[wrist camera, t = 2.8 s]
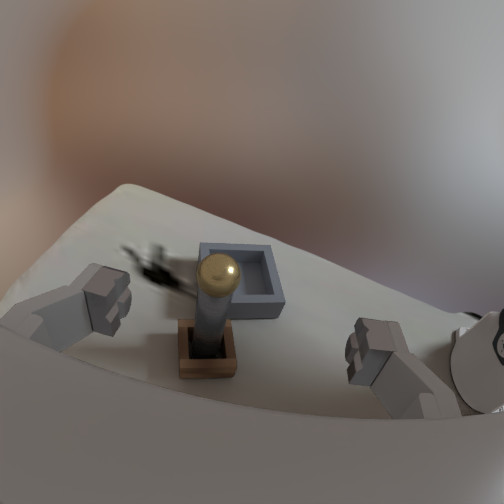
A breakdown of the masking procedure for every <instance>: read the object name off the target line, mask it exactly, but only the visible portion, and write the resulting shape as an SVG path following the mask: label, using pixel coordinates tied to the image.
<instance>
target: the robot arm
mask: <svg viewBox="0 0 504 504" xmlns="http://www.w3.org/2000/svg"><path fill="white" fill-rule="evenodd" d="M129 284H130V274H129V273H128V272H125V271H121V270H118V269H114V268H110V267H106V266H102V265H99V264H95V263H92V264H89V266H88V267H87V268H86V269H85V270H84V271H83V272H82V273H81V274H80V275H79V276H78V277H77V278H76V279H75V280H74V281H73V282H72V283H71V285H70V286H66V285H65V286H63V287H60V288H57V289H54V290H52V291H49V292H46V293H44V294H41V295H38V296H36V297H33V298H30V299H28V300H25V301H22V302H20V303H17V304H15V305H14V306H13V307H12V308H11V309H10V310H9V311H8V312H7V313H6V314H5V315H4V316H3V317H2V319H1V320H0V504H504V309H503V310H502V311H501V312H500V313H498V312H489V313H488V314H486V315H485V316H484V317H483V318H482V319H481V320H479V321H478V322H477V323H476V324H475V325H474V326H472V327H471V328H470V327H460V328H459V329H458V330H456V343H455V346H454V348H453V351H452V354H451V372H452V377H453V380H454V383H455V385H456V388H457V390H458V392H459V393H460V395H461V397H462V398H463V399H464V401H465V402H466V403H467V404H468V405H469V406H470V407H472V408H473V409H475V410H477V411H479V412H482V413H484V414H479V415H470V416H462V415H461V412H460V408H459V405H458V403H457V400H456V397H455V394H454V392H453V391H452V390H451V389H450V388H449V387H448V386H447V385H446V384H445V383H444V382H443V381H442V380H441V379H440V378H439V377H437V376H436V375H435V374H434V373H433V372H432V371H431V370H430V369H429V368H428V367H427V366H426V365H425V364H424V363H423V362H422V361H420V360H419V359H418V358H417V357H416V356H415V355H414V354H412V353H409V350H408V347H407V344H406V341H405V338H404V336H403V333H402V330H401V327H400V325H399V323H398V322H393V321H381V320H374V319H367V318H360V317H359V318H358V320H357V321H356V323H355V325H354V327H355V332H354V333H352V334H351V335H350V336H349V338H348V340H347V344H346V348H345V358H346V361H347V362H348V363H349V364H350V365H349V367H348V369H347V374H348V381H349V384H353V385H362V386H371V387H370V388H371V389H372V391H373V392H374V393H375V395H376V396H377V398H378V399H379V400H380V402H381V403H382V405H383V406H384V407H385V409H386V410H387V412H388V413H389V414H390V416H391V417H392V419H362V418H343V417H329V416H317V415H307V414H298V413H290V412H282V411H275V410H268V409H262V408H256V407H250V406H244V405H238V404H233V403H228V402H223V401H218V400H213V399H209V398H204V397H200V396H195V395H191V394H187V393H183V392H179V391H175V390H171V389H167V388H164V387H160V386H156V385H153V384H149V383H146V382H143V381H139V380H136V379H133V378H130V377H126V376H123V375H120V374H117V373H114V372H111V371H108V370H106V369H103V368H100V367H97V366H94V365H92V364H89V363H86V362H84V361H81V360H78V359H76V358H73V357H71V356H68V355H66V354H63V353H61V351H63V350H64V349H66V348H68V347H69V346H71V345H73V344H74V343H76V342H77V341H79V340H81V339H82V338H84V337H86V336H87V335H89V334H91V333H92V332H93V331H94V332H98V333H101V334H104V335H108V336H111V337H113V336H114V335H115V333H116V331H117V330H118V328H119V327H120V325H121V324H120V319H122V318H124V317H126V315H127V314H128V312H129V309H130V306H131V300H132V295H131V291H130V290H129V288H128V287H127V286H128V285H129Z"/></svg>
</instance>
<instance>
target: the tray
mask: <svg viewBox="0 0 504 504" xmlns="http://www.w3.org/2000/svg"><path fill="white" fill-rule="evenodd" d="M213 253H225V254H227V255H229V256H231V257H232V258H234V259H235V260H236V262H237V263H238V265H239V267H240V270H241V281H240V284H239V286H238V288H237V289H236V290H235V291H234V293H233V297H232V301H231V305H230V309H229V313H228V317H227V319H252V318H278V317H279V315H280V313H281V311H282V309H283V307H284V305H285V303H286V302H285V298H284V294H283V290H282V287H281V283H280V279H279V275H278V272H277V268H276V264H275V261H274V257H273V253H272V250H271V246H270V245H251V244H225V243H200V248H199V256H198V265H199V263H200V262H201V261H202V259H203V258H205V257H206V256H208V255H210V254H213Z"/></svg>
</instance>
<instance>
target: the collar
mask: <svg viewBox="0 0 504 504" xmlns="http://www.w3.org/2000/svg"><path fill="white" fill-rule="evenodd" d="M194 323H195V320H194V319H178V349H179V372H180V378H225V377H233V376H234V374H235V371H236V369H237V361H236V354H235V347H234V340H233V333H232V326H231V319H227V320H226V324H225V328H224V332H223V336H222V340H221V344H220V346H221V354H222V359H189V350H188V340H193V333H194Z"/></svg>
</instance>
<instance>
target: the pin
mask: <svg viewBox="0 0 504 504" xmlns="http://www.w3.org/2000/svg"><path fill="white" fill-rule="evenodd" d="M196 279H197V283H198V294H197V303H196V313H195V323H194V333H193V344H192V358H193V359H217V356H218V352H219V348H220V344H221V340H222V336H223V332H224V328H225V324H226V320H227V317H228V313H229V309H230V305H231V301H232V297H233V293H234V291H235V290H236V289H237V288H238V286H239V284H240V281H241V270H240V267H239V265H238V263H237V262H236V260H235V259H234V258H232V257H231V256H229V255H227V254H225V253H213V254H210V255H208V256H206V257H205V258H203V259H202V261H201V262H200V263H199V265H198V267H197V271H196Z"/></svg>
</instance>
